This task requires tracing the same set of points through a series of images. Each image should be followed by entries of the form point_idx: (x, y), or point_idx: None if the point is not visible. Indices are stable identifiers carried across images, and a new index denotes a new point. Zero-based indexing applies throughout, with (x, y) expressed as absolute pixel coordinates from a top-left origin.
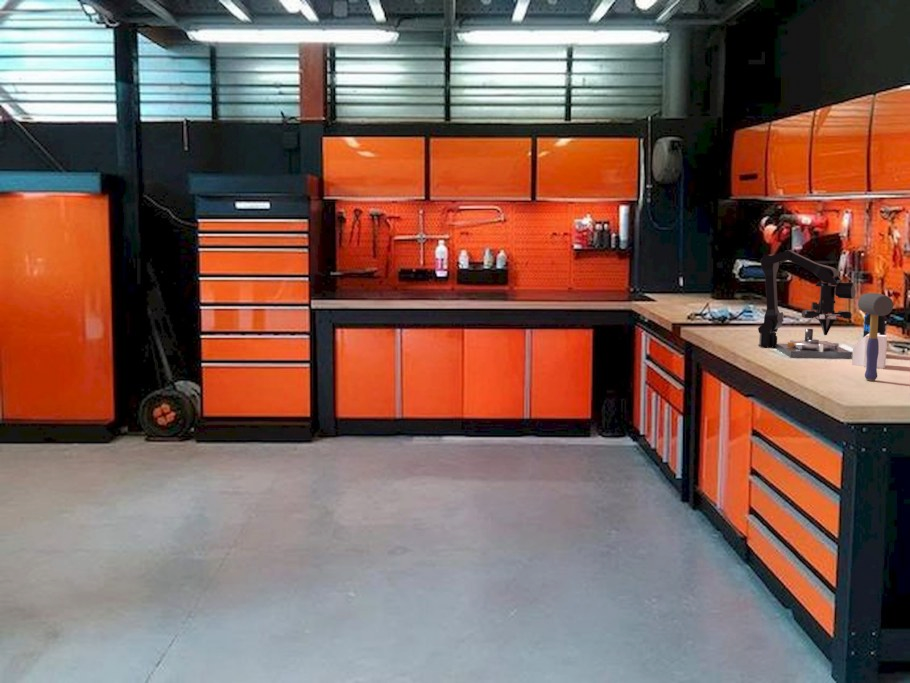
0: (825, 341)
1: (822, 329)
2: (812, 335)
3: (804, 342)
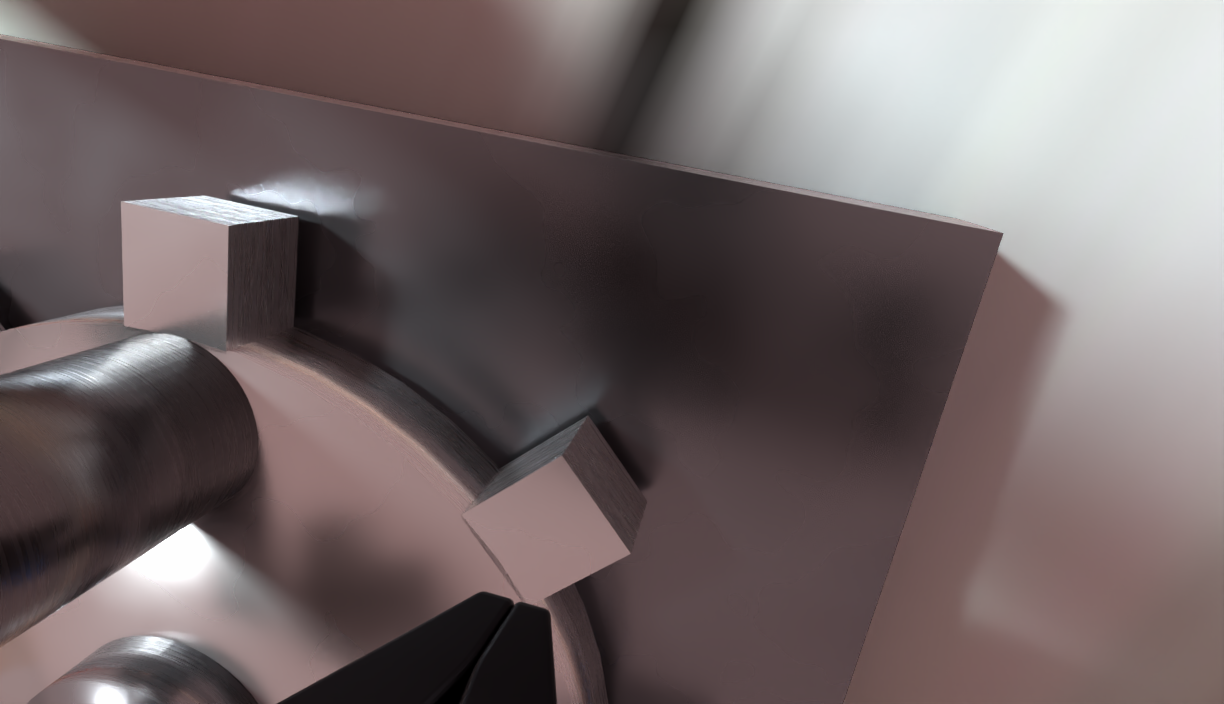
0: (547, 589)
1: (319, 699)
2: (114, 570)
3: (29, 644)
